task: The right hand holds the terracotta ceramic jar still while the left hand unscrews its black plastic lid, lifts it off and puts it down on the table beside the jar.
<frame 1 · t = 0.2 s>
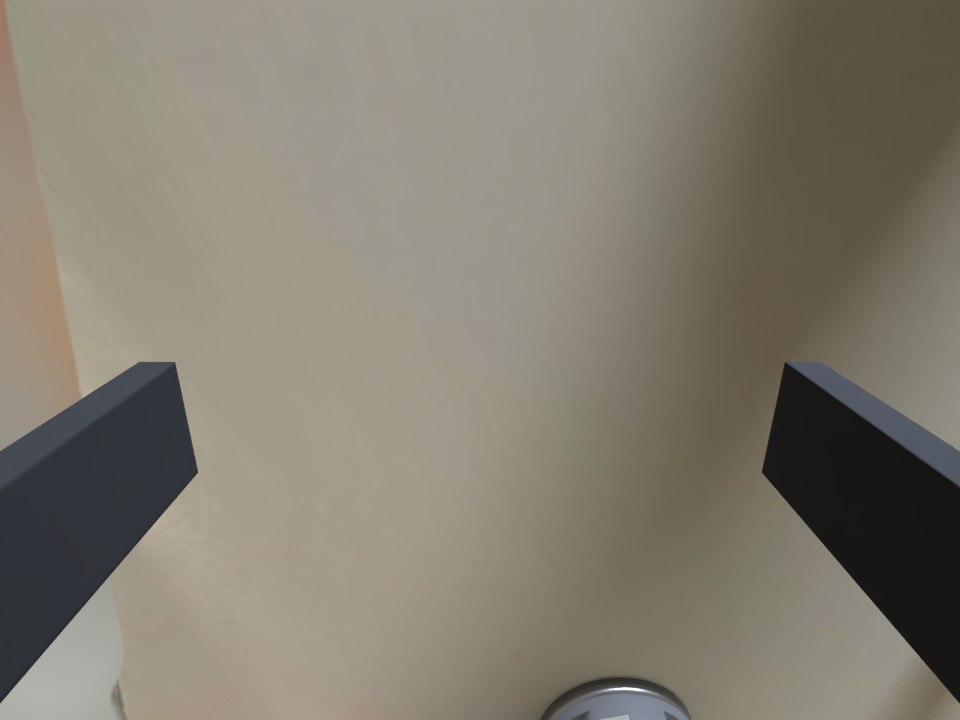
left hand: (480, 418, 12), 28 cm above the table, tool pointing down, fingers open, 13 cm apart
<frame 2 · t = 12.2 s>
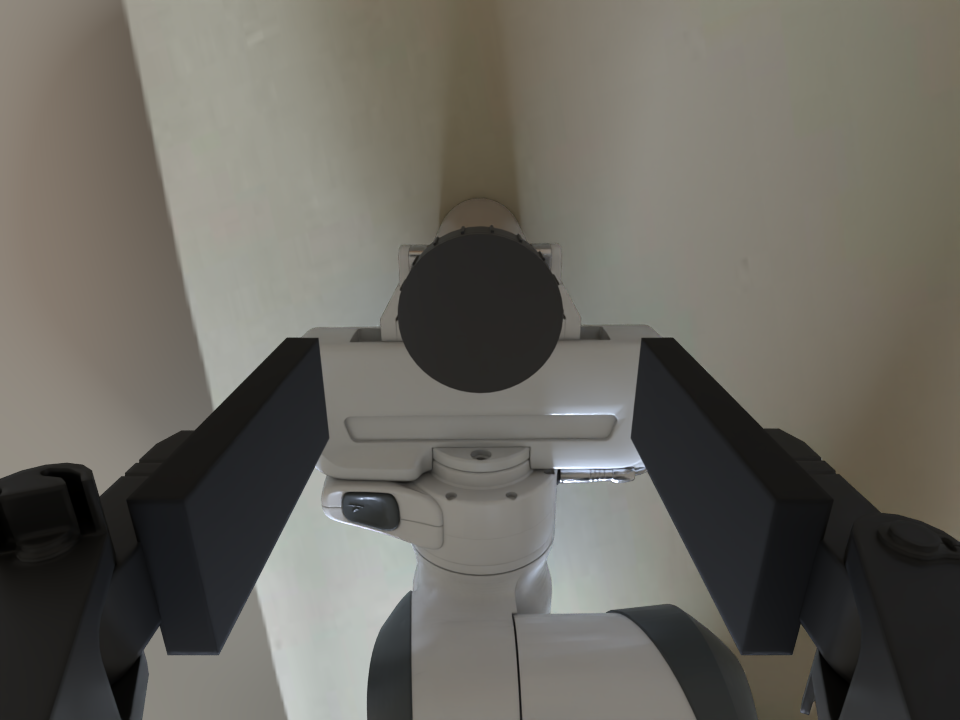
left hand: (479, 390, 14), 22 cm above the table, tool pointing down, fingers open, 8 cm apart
right hand: (479, 245, 28), fingers closed on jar, 5 cm apart
lid: (480, 315, 20), point 16 cm above the table, screwed on, not yet turned
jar: (479, 241, 35), on the table, touching right hand
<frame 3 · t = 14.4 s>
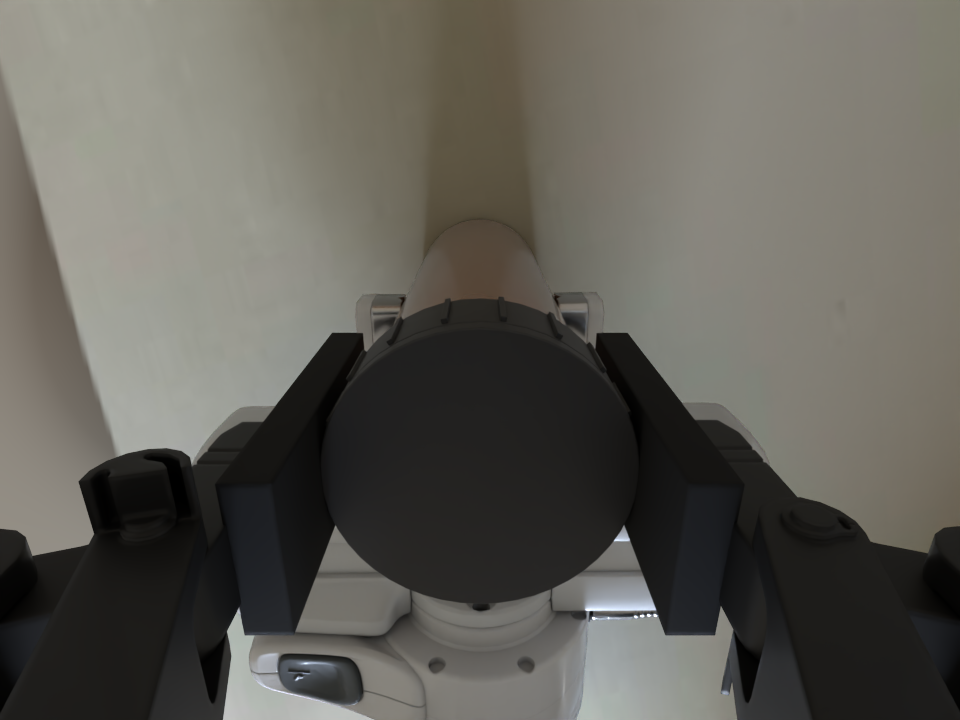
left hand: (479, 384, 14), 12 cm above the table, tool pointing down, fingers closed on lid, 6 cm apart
lid: (479, 470, 10), point 16 cm above the table, screwed on, not yet turned, touching left hand
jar: (479, 277, 25), on the table, touching right hand
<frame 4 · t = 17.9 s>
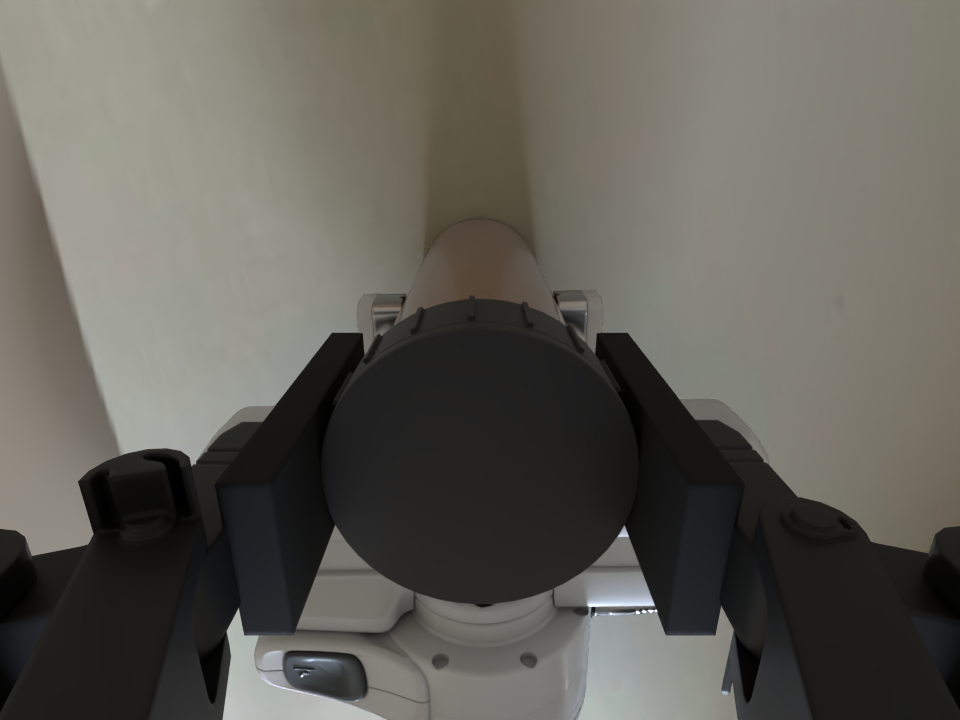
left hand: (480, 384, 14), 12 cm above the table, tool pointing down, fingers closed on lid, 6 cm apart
lid: (480, 470, 10), point 16 cm above the table, turned 110° so far, risen 0.2 cm, still on its thread, touching left hand
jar: (479, 277, 25), on the table, touching right hand
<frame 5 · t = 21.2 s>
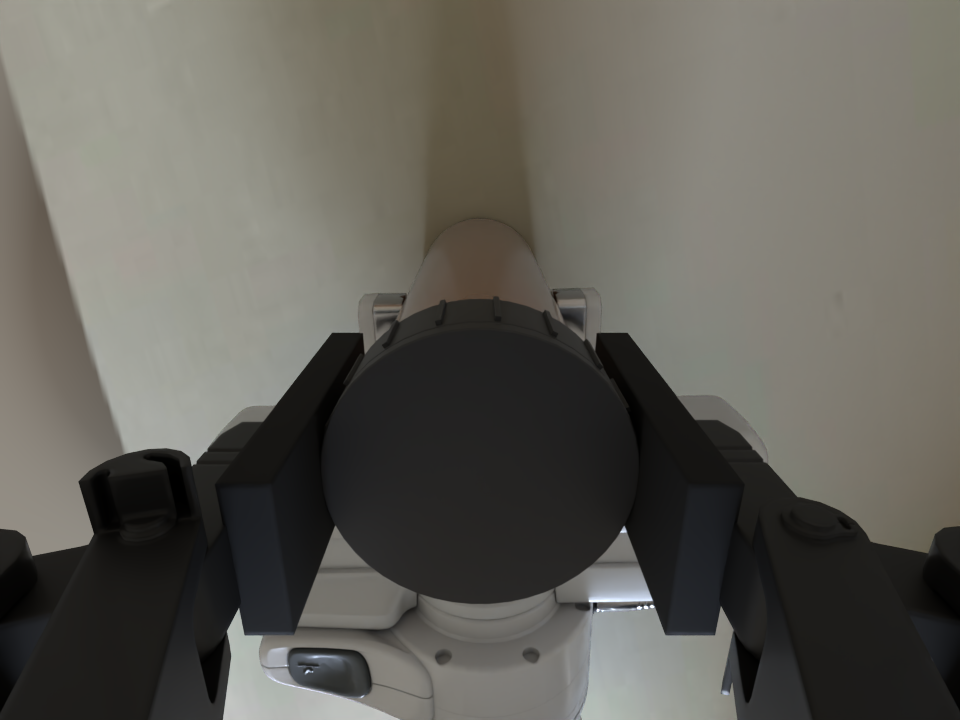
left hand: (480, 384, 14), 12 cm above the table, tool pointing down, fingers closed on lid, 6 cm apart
lid: (479, 470, 10), point 16 cm above the table, turned 221° so far, risen 0.4 cm, still on its thread, touching left hand
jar: (479, 276, 26), on the table, touching right hand
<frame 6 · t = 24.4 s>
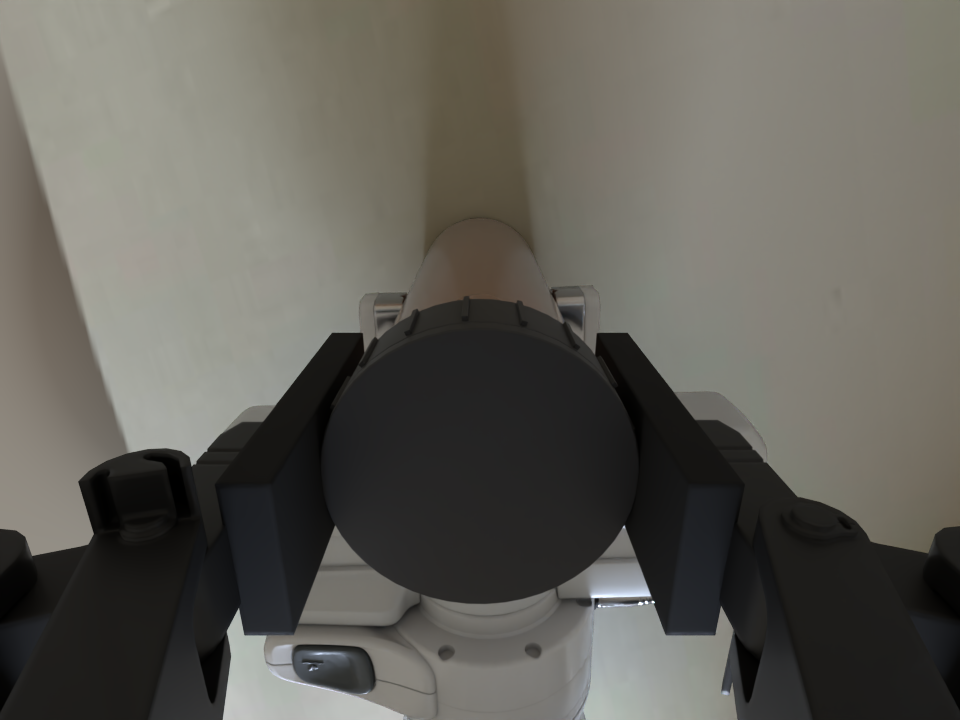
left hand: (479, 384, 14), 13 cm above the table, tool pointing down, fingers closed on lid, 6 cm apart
lid: (479, 470, 10), point 17 cm above the table, turned 331° so far, risen 0.5 cm, still on its thread, touching left hand
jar: (479, 275, 26), on the table, touching right hand
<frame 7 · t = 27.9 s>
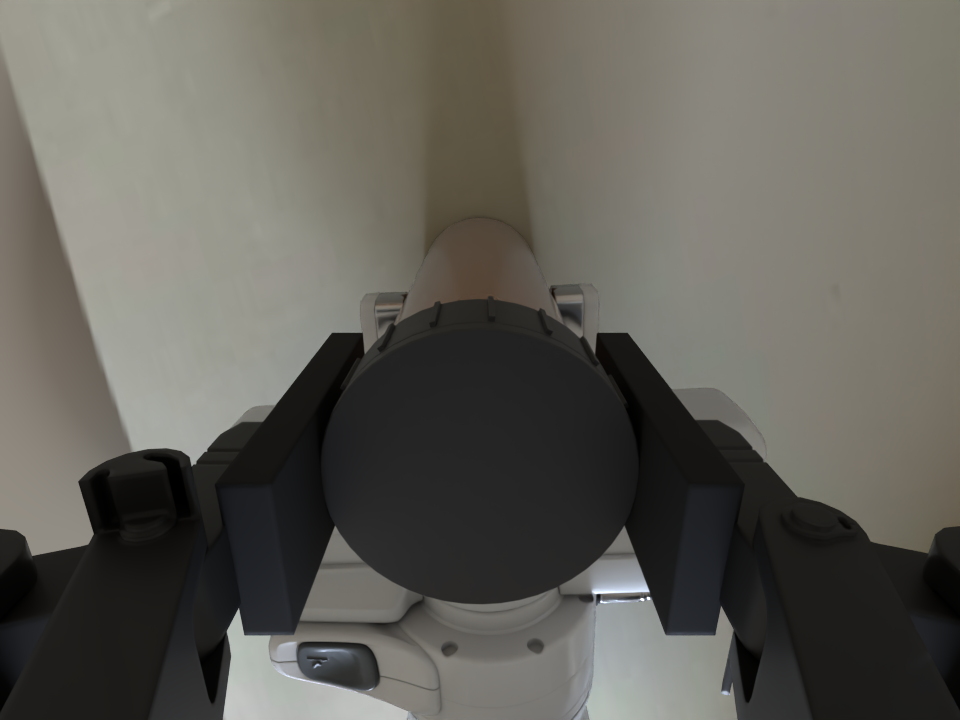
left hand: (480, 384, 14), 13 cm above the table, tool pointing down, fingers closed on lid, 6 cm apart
lid: (479, 470, 10), point 17 cm above the table, turned 442° so far, risen 0.7 cm, still on its thread, touching left hand
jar: (479, 274, 26), on the table, touching right hand
when the left hand's fingers open (0 cm above the table, at t = 34.5 s): lid drops 3 cm, point 2 cm above the table.
when the right hand's fingers open (7 cm above the table, at t = 35.1 s): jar stays where it is, on the table.
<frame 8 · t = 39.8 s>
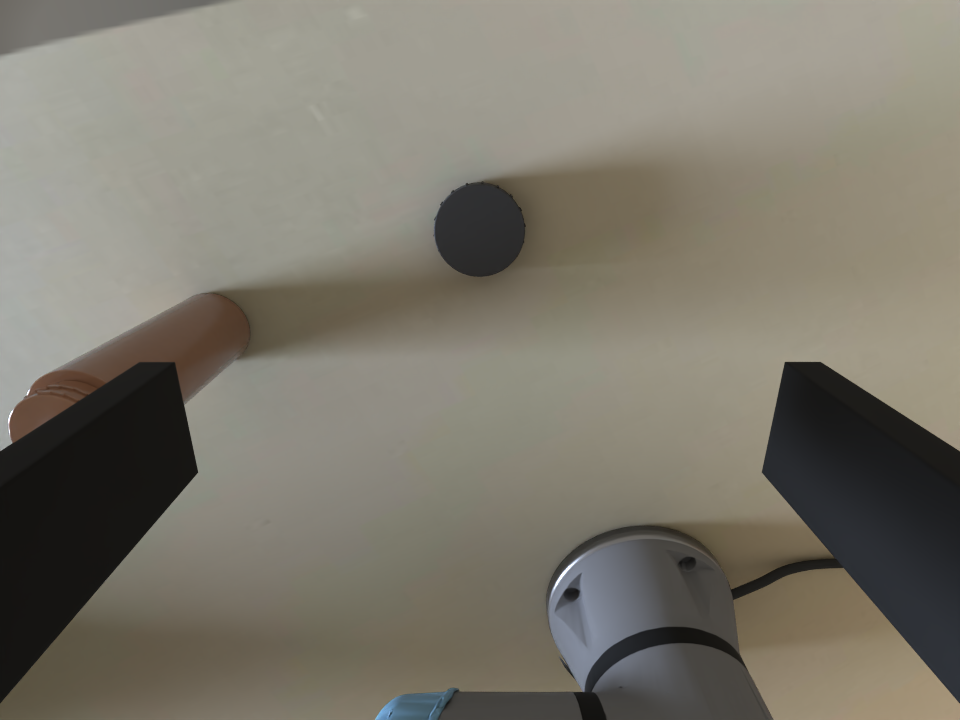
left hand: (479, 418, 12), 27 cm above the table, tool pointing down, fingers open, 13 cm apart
lid: (479, 231, 36), point 2 cm above the table, off its thread
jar: (213, 328, 40), on the table
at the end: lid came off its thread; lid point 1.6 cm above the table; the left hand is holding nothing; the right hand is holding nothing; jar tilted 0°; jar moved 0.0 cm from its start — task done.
